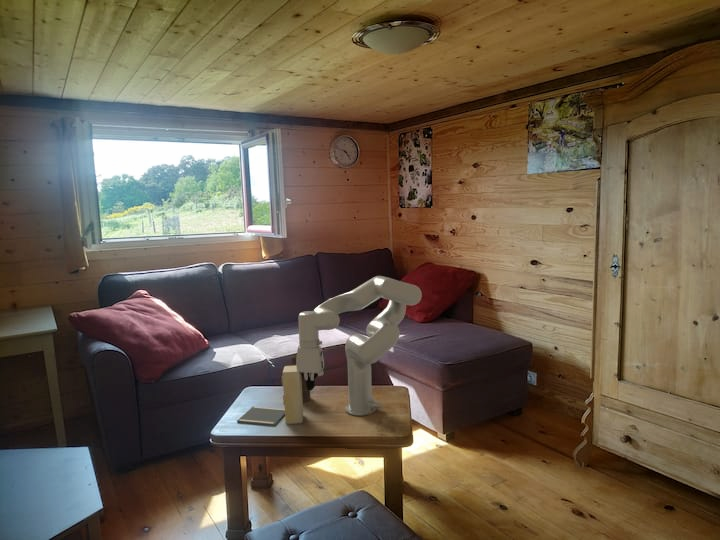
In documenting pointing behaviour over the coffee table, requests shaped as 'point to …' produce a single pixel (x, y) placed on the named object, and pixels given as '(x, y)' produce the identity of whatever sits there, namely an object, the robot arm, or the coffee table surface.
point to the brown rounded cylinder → (304, 389)
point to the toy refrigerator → (292, 395)
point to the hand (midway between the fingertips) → (310, 389)
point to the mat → (262, 416)
